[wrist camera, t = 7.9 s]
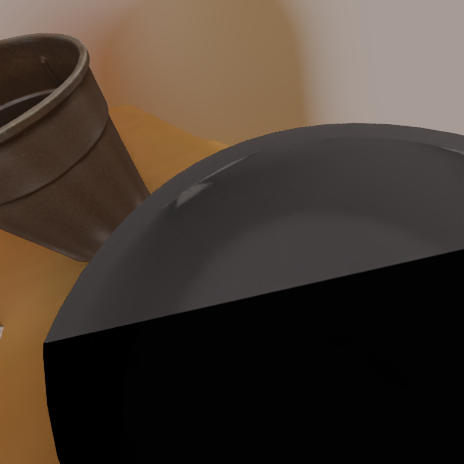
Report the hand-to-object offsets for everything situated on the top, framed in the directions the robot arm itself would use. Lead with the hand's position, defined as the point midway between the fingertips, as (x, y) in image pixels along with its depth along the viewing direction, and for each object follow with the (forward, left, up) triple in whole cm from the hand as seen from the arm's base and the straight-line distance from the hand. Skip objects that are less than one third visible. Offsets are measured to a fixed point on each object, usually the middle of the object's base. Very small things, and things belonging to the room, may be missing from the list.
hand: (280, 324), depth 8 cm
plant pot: (+14, +20, -14) cm, 28 cm away
